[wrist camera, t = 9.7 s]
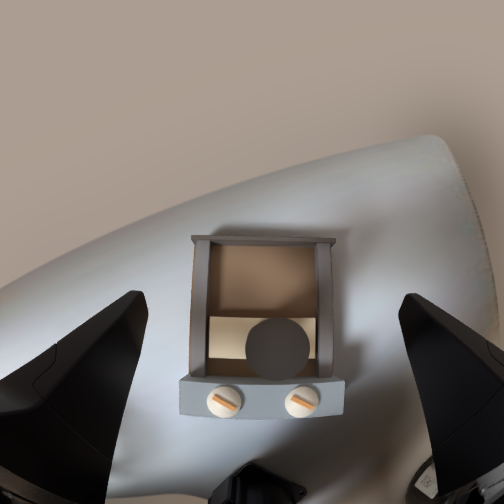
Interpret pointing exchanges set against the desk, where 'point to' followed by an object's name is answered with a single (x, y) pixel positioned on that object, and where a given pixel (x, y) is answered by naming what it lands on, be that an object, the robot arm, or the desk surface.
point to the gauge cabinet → (261, 397)
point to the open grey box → (260, 294)
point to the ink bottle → (432, 488)
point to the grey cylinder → (264, 343)
